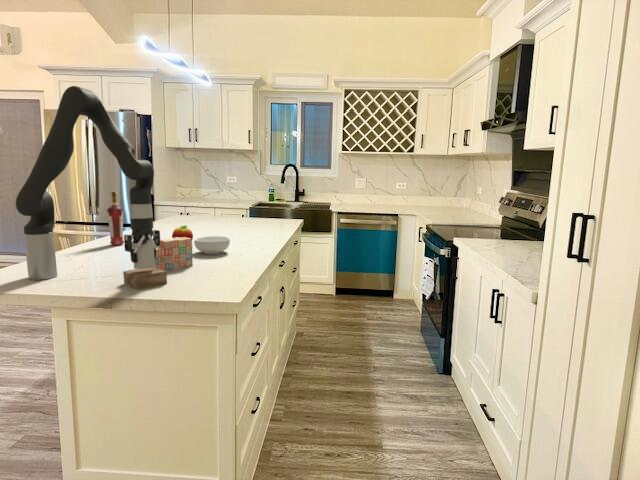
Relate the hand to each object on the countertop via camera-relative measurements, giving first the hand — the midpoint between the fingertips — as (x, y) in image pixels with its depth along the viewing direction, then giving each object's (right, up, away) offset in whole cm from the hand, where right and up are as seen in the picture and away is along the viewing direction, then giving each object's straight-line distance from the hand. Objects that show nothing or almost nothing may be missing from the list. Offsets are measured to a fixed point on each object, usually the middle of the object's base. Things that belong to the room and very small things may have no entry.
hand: (144, 260), depth 159 cm
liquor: (-43, +5, +71) cm, 83 cm away
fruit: (-9, +5, +74) cm, 75 cm away
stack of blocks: (0, -5, +24) cm, 25 cm away
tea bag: (0, -3, +1) cm, 3 cm away
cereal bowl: (+11, +1, +56) cm, 57 cm away
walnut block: (0, -9, +2) cm, 9 cm away
